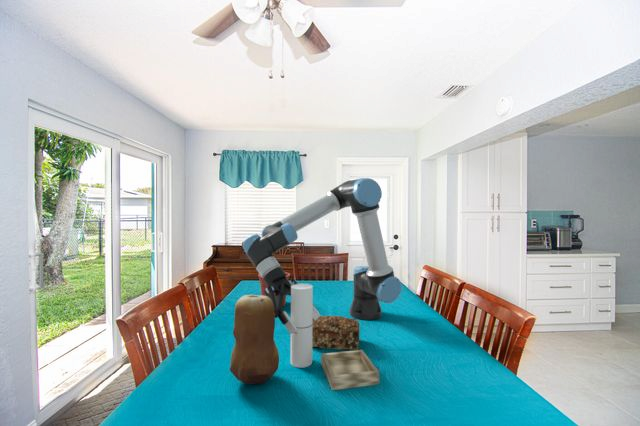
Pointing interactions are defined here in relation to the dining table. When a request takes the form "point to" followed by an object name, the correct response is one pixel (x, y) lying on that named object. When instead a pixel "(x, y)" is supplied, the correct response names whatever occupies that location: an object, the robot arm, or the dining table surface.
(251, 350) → the butternut squash
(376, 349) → the dining table surface
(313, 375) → the dining table surface
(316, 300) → the dining table surface
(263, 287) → the flower pot
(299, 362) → the cylindrical container
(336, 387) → the holder tray
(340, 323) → the bread
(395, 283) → the robot arm
